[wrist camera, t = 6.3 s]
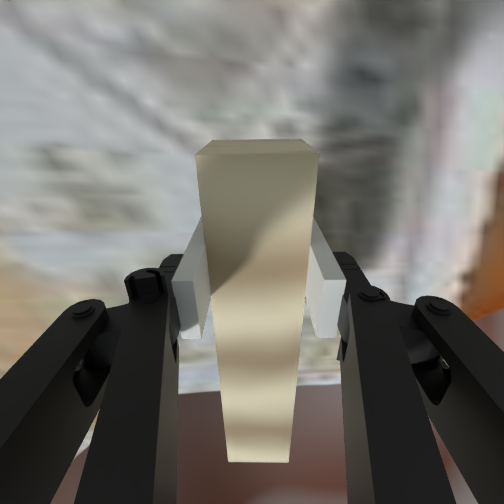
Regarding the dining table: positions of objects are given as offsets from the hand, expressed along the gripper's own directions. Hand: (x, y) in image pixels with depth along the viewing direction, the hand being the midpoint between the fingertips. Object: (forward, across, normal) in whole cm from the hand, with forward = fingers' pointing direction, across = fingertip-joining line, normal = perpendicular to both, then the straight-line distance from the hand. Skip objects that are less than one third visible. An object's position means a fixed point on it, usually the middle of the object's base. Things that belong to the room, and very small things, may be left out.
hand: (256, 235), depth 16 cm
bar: (+1, 0, -6) cm, 6 cm away
